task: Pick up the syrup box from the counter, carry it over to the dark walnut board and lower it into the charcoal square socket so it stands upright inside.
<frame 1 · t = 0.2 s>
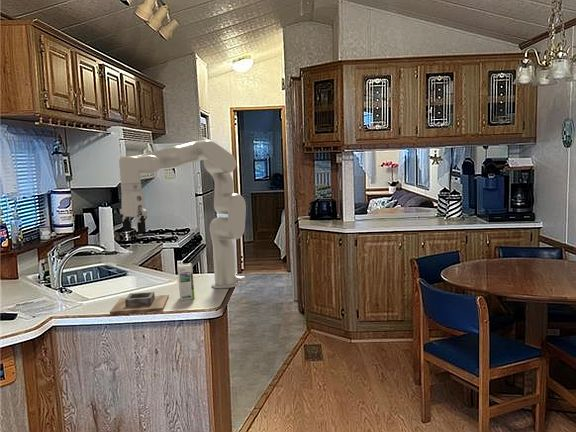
hand: (134, 231, 205), 31 cm above the countertop, tool pointing down, fingers open, 9 cm apart
syrup box: (187, 298, 221), on the countertop
socket stand: (140, 305, 212), on the countertop
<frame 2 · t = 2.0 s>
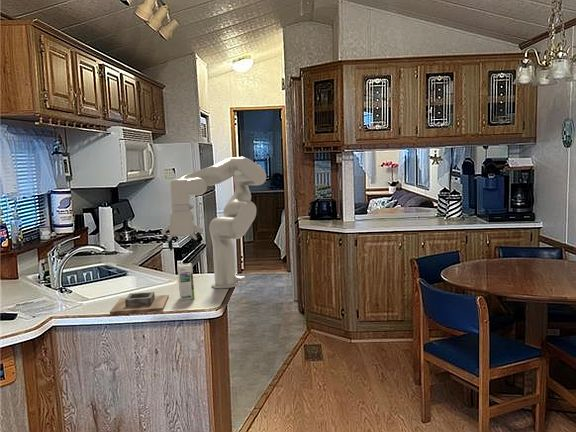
hand: (183, 249, 218), 21 cm above the countertop, tool pointing down, fingers open, 9 cm apart
nothing on the countertop moved.
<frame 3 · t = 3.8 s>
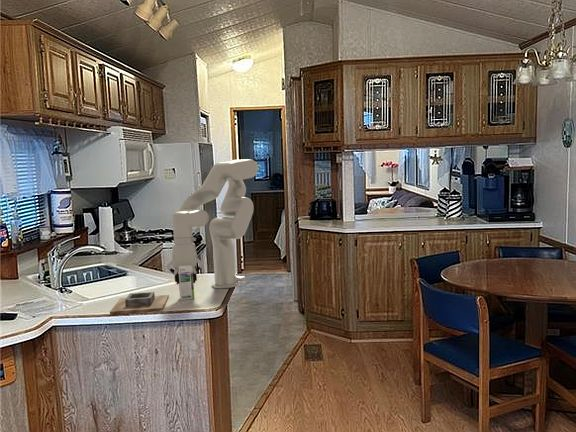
hand: (186, 282, 220), 7 cm above the countertop, tool pointing down, fingers closed on syrup box, 6 cm apart
syrup box: (187, 298, 221), on the countertop, touching gripper
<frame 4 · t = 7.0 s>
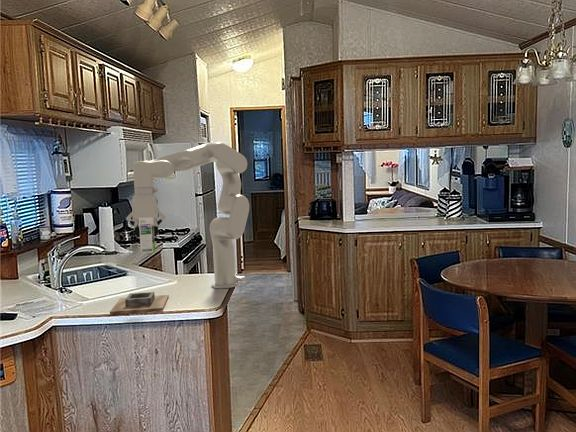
hand: (146, 236, 211), 28 cm above the countertop, tool pointing down, fingers closed on syrup box, 6 cm apart
syrup box: (148, 252, 212), point 21 cm above the countertop, touching gripper
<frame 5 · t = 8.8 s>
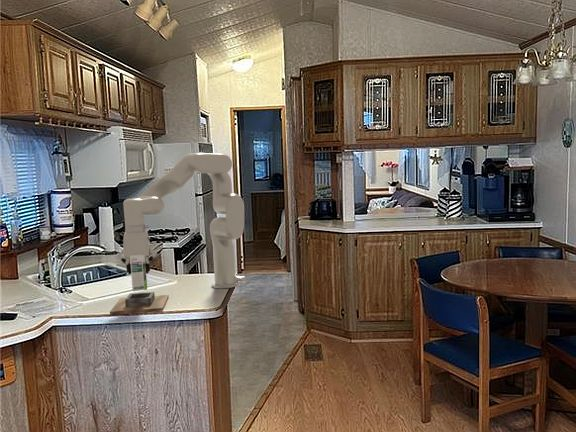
hand: (138, 273, 211), 13 cm above the countertop, tool pointing down, fingers closed on syrup box, 6 cm apart
syrup box: (140, 289, 211), point 7 cm above the countertop, touching gripper
when the fingers open (9 cm above the countertop, at t = 10.2 s): syrup box drops 1 cm, resting on socket stand.
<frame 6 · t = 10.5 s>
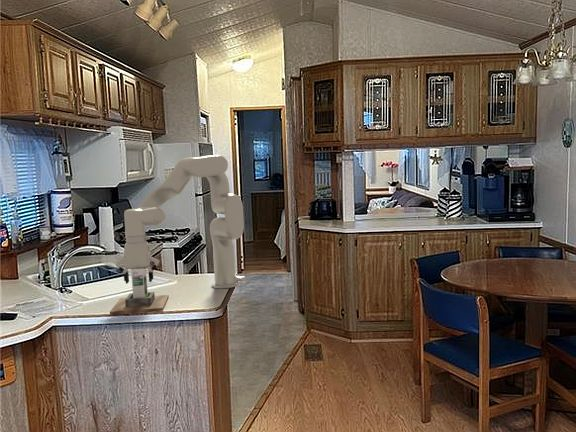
hand: (139, 282, 211), 10 cm above the countertop, tool pointing down, fingers open, 8 cm apart
syrup box: (141, 303, 212), point 1 cm above the countertop, touching socket stand
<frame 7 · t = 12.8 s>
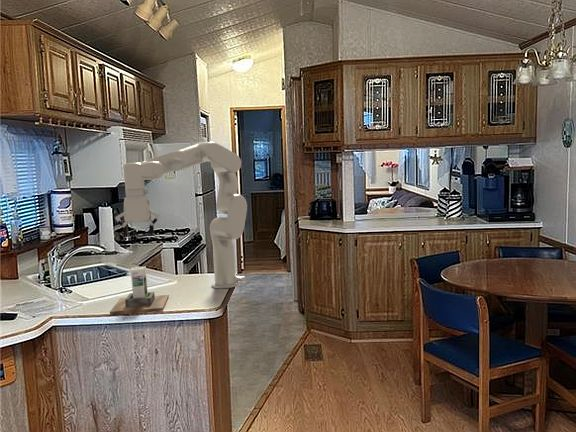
hand: (139, 235, 211), 28 cm above the countertop, tool pointing down, fingers open, 9 cm apart
nothing on the countertop moved.
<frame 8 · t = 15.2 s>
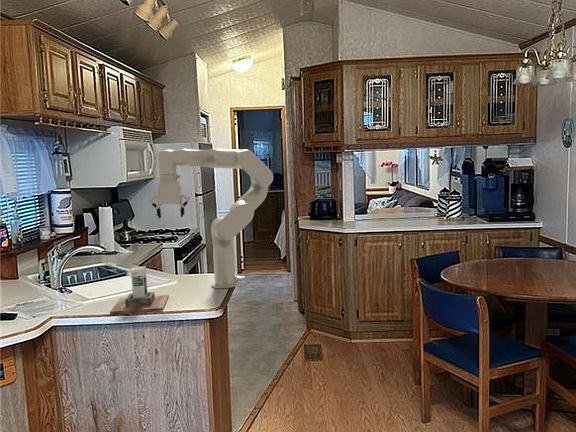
hand: (171, 217, 230), 33 cm above the countertop, tool pointing down, fingers open, 9 cm apart
nothing on the countertop moved.
at the end: syrup box 0.1 cm off-centre on the socket stand, point 1.0 cm above the socket stand's base; syrup box tilted 0°; the gripper is holding nothing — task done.
